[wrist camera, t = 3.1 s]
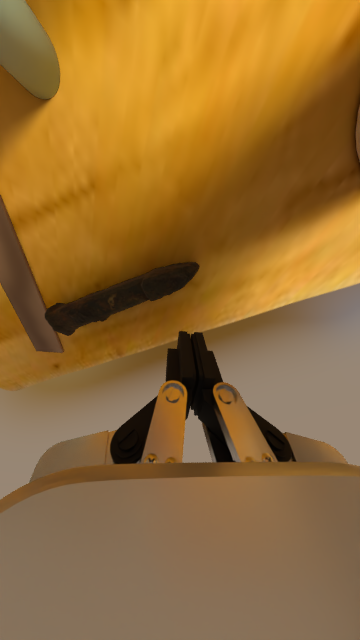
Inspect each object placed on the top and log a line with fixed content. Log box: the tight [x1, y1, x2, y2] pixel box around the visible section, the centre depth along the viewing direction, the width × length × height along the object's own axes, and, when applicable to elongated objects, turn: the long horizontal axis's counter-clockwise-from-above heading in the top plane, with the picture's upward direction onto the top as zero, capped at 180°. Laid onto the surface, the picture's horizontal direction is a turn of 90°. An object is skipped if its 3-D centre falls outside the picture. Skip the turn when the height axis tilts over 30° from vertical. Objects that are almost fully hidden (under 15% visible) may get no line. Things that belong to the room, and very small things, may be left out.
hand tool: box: [45, 262, 199, 336], centre depth 17 cm, size 19×4×5 cm, turn 109°
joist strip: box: [0, 195, 64, 353], centre depth 19 cm, size 4×20×1 cm, turn 174°
